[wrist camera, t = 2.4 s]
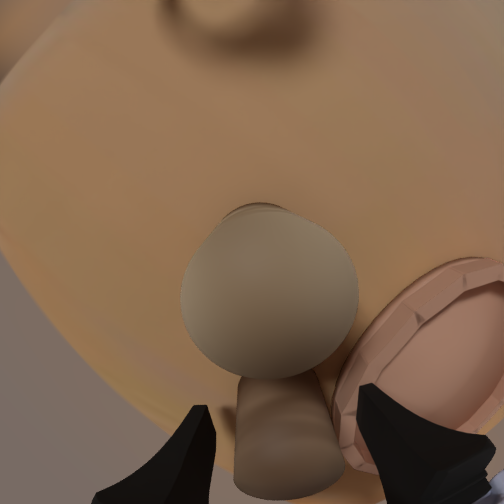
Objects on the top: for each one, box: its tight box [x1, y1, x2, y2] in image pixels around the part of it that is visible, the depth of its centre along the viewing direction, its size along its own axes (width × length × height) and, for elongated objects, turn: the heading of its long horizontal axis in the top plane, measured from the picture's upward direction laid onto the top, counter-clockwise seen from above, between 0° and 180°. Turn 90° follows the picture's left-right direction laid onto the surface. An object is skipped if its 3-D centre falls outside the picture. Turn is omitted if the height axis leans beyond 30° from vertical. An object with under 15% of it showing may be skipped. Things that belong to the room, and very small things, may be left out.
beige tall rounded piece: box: [180, 203, 359, 379], centre depth 9 cm, size 4×4×6 cm
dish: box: [331, 257, 504, 475], centre depth 12 cm, size 15×15×2 cm
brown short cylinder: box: [234, 368, 345, 500], centre depth 10 cm, size 4×4×6 cm
